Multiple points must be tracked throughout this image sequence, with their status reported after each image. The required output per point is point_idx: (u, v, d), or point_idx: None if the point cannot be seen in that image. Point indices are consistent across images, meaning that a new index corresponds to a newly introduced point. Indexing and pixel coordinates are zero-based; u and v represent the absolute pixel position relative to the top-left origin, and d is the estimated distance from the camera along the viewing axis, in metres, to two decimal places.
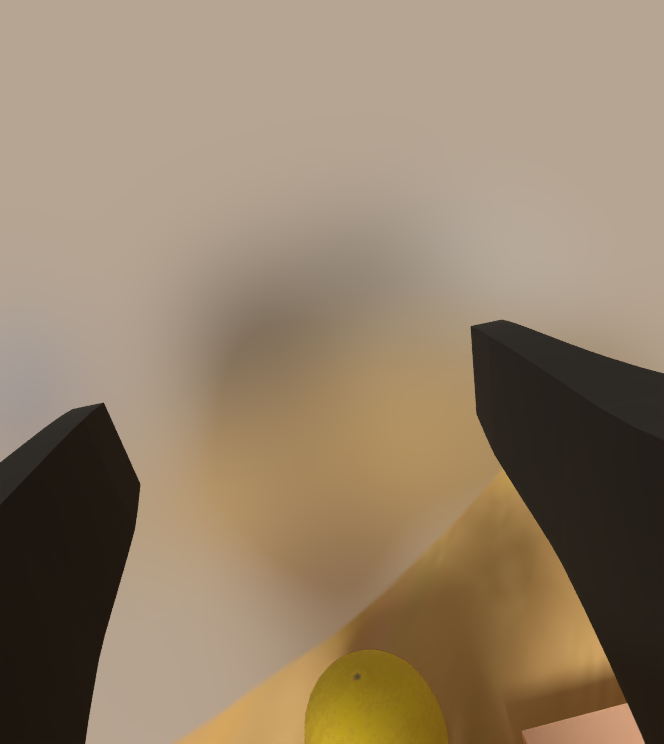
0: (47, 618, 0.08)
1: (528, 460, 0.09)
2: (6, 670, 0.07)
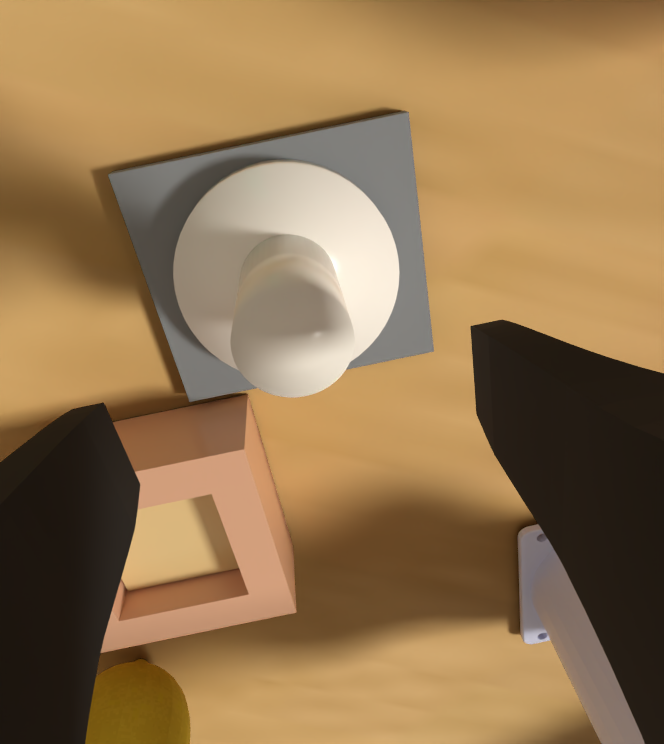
0: (47, 618, 0.08)
1: (528, 460, 0.09)
2: (6, 670, 0.07)
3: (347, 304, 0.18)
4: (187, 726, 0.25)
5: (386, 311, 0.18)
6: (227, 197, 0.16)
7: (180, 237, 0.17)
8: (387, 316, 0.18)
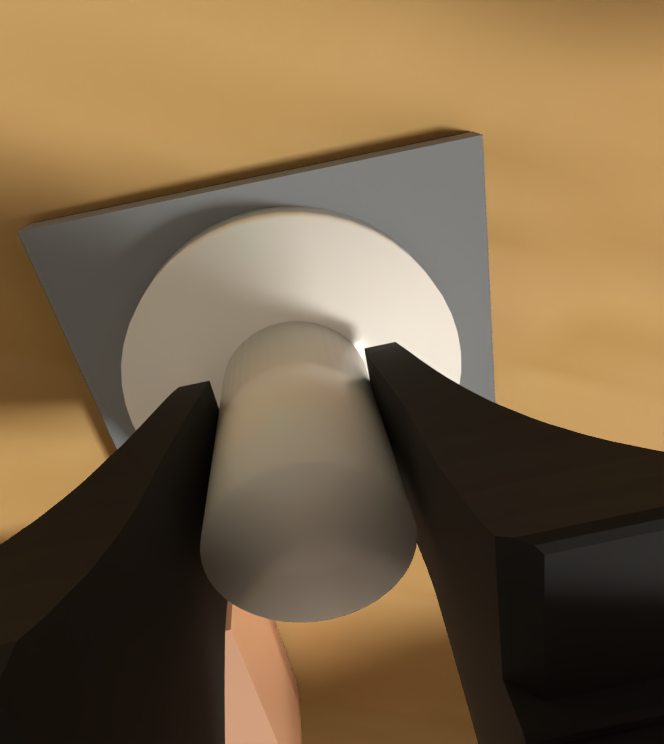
0: (192, 588, 0.08)
1: (405, 485, 0.09)
2: (173, 635, 0.07)
3: None
4: None
5: None
6: (201, 270, 0.10)
7: (129, 329, 0.11)
8: None
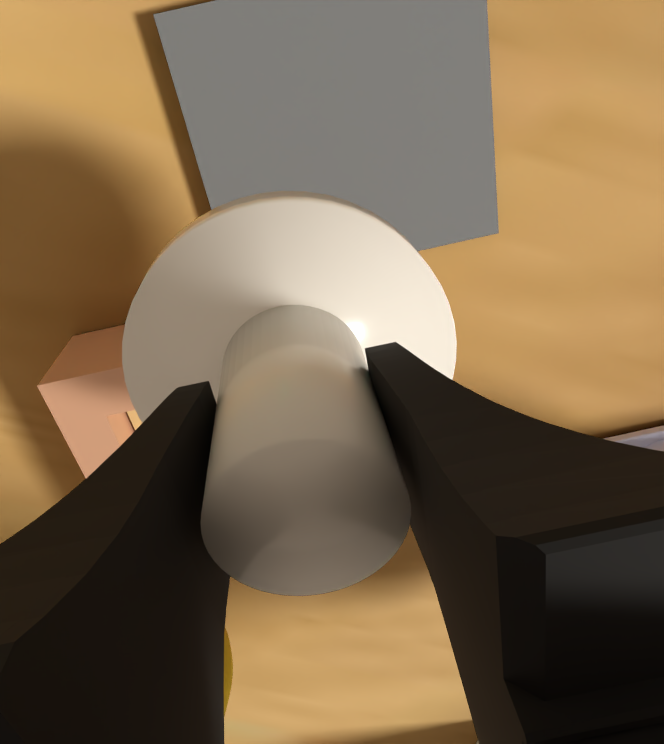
0: (191, 588, 0.08)
1: (406, 485, 0.09)
2: (172, 635, 0.07)
3: None
4: (230, 656, 0.23)
5: None
6: (205, 251, 0.11)
7: (132, 306, 0.11)
8: None
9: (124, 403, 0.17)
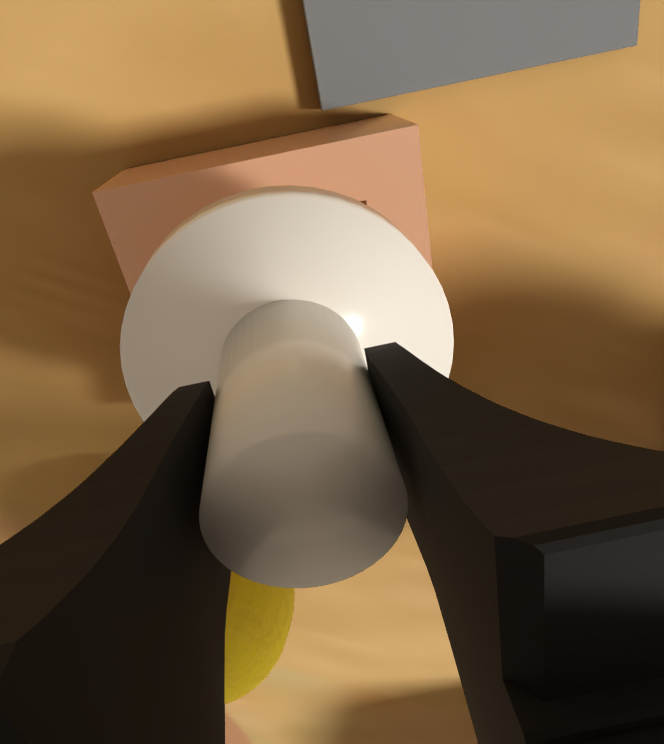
0: (192, 588, 0.08)
1: (405, 486, 0.09)
2: (173, 635, 0.07)
3: None
4: None
5: None
6: (210, 241, 0.11)
7: (133, 293, 0.11)
8: None
9: None
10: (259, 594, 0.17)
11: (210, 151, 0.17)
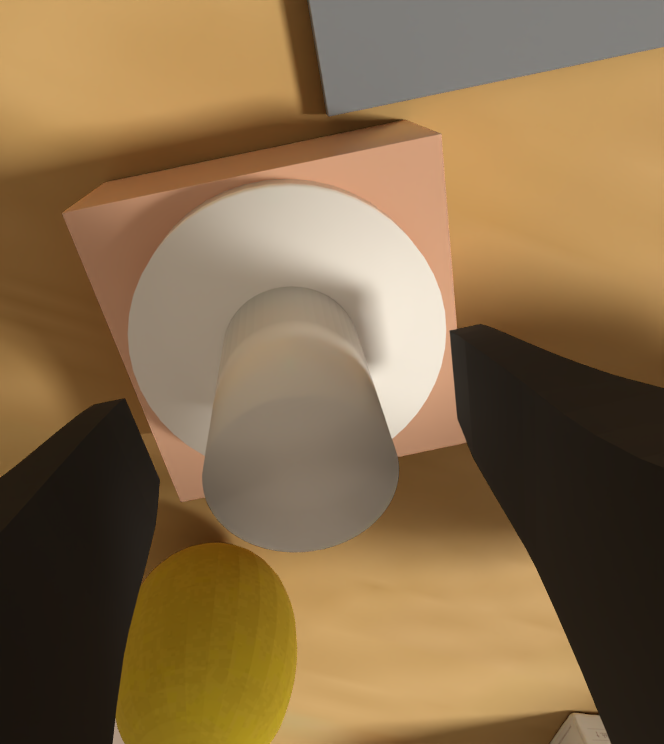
0: (76, 612, 0.08)
1: (503, 466, 0.09)
2: (39, 663, 0.07)
3: None
4: (294, 621, 0.18)
5: (421, 395, 0.14)
6: (214, 229, 0.11)
7: (141, 279, 0.12)
8: (421, 402, 0.14)
9: None
10: (258, 659, 0.16)
11: (201, 162, 0.15)
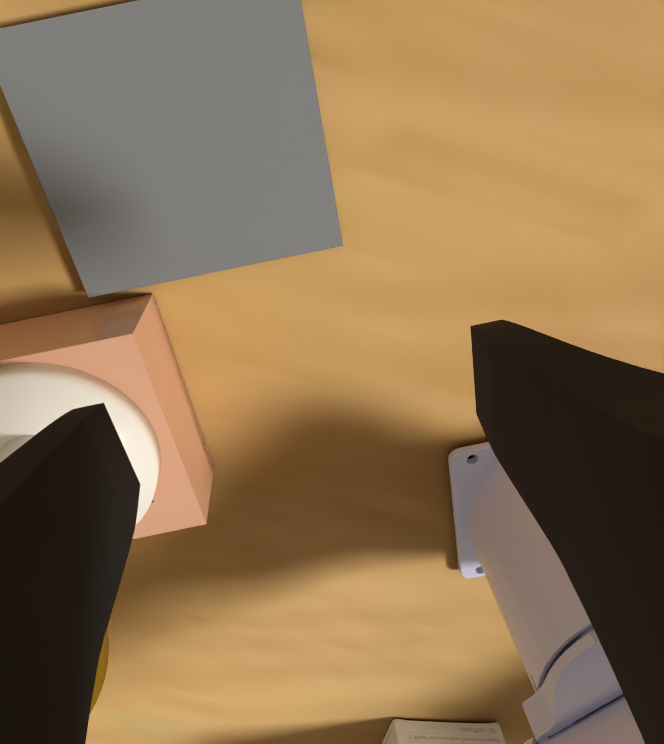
0: (47, 618, 0.08)
1: (528, 461, 0.09)
2: (6, 670, 0.07)
3: None
4: (103, 651, 0.24)
5: (146, 499, 0.19)
6: None
7: None
8: (148, 504, 0.19)
9: None
10: None
11: (4, 324, 0.20)
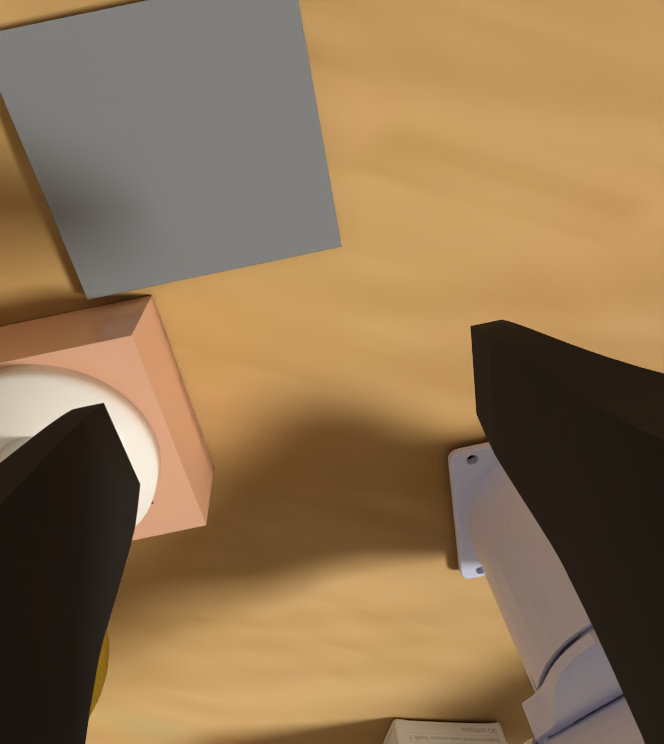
0: (47, 618, 0.08)
1: (528, 460, 0.09)
2: (6, 670, 0.07)
3: None
4: (103, 652, 0.24)
5: (146, 500, 0.19)
6: None
7: None
8: (147, 505, 0.19)
9: None
10: None
11: (4, 326, 0.20)
